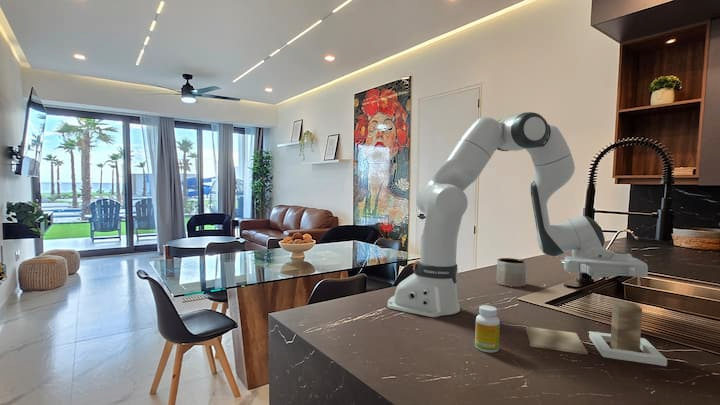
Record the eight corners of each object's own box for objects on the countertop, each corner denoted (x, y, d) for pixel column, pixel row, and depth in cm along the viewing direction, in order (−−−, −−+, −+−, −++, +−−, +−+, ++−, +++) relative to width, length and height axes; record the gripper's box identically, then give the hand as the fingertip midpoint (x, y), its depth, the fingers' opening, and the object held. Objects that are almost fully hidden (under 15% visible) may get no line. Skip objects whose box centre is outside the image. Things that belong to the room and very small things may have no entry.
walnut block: (616, 352, 86) (618, 306, 86) (610, 345, 90) (612, 301, 90) (639, 356, 85) (642, 309, 84) (632, 348, 89) (634, 303, 88)
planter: (499, 287, 142) (500, 262, 142) (493, 280, 153) (494, 257, 152) (529, 288, 140) (530, 264, 140) (521, 281, 151) (522, 258, 151)
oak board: (530, 346, 89) (530, 343, 89) (525, 328, 100) (525, 326, 100) (587, 354, 85) (587, 352, 85) (575, 335, 96) (575, 332, 96)
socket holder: (602, 356, 84) (603, 350, 84) (588, 336, 95) (589, 331, 95) (666, 366, 80) (667, 359, 80) (644, 344, 91) (644, 338, 91)
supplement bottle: (500, 354, 84) (502, 312, 84) (476, 351, 85) (477, 310, 85) (496, 344, 89) (498, 305, 89) (473, 342, 90) (475, 303, 90)
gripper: (559, 250, 116) (568, 258, 102) (636, 254, 109) (656, 263, 96) (558, 269, 116) (567, 280, 103) (635, 275, 109) (656, 287, 96)
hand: (611, 272), depth 99 cm, fingers open, 8 cm apart
